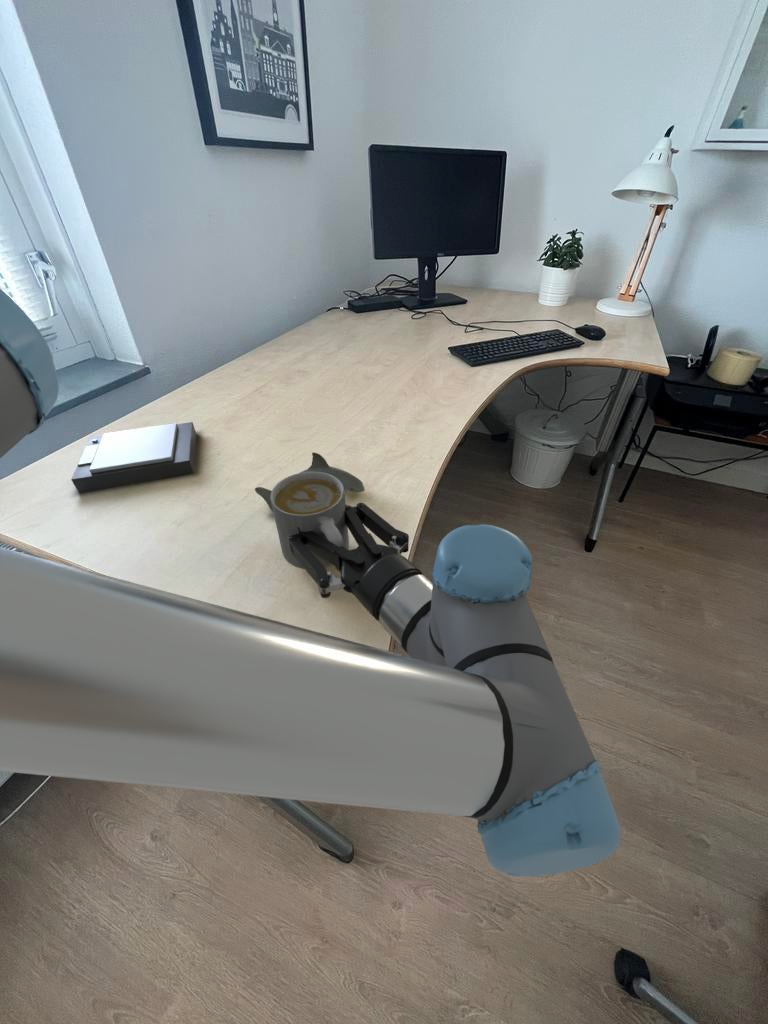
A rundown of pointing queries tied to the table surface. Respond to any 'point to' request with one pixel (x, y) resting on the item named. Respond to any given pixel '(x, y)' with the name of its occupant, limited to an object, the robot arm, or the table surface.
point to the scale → (136, 456)
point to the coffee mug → (310, 510)
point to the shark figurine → (321, 465)
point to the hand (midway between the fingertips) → (300, 500)
